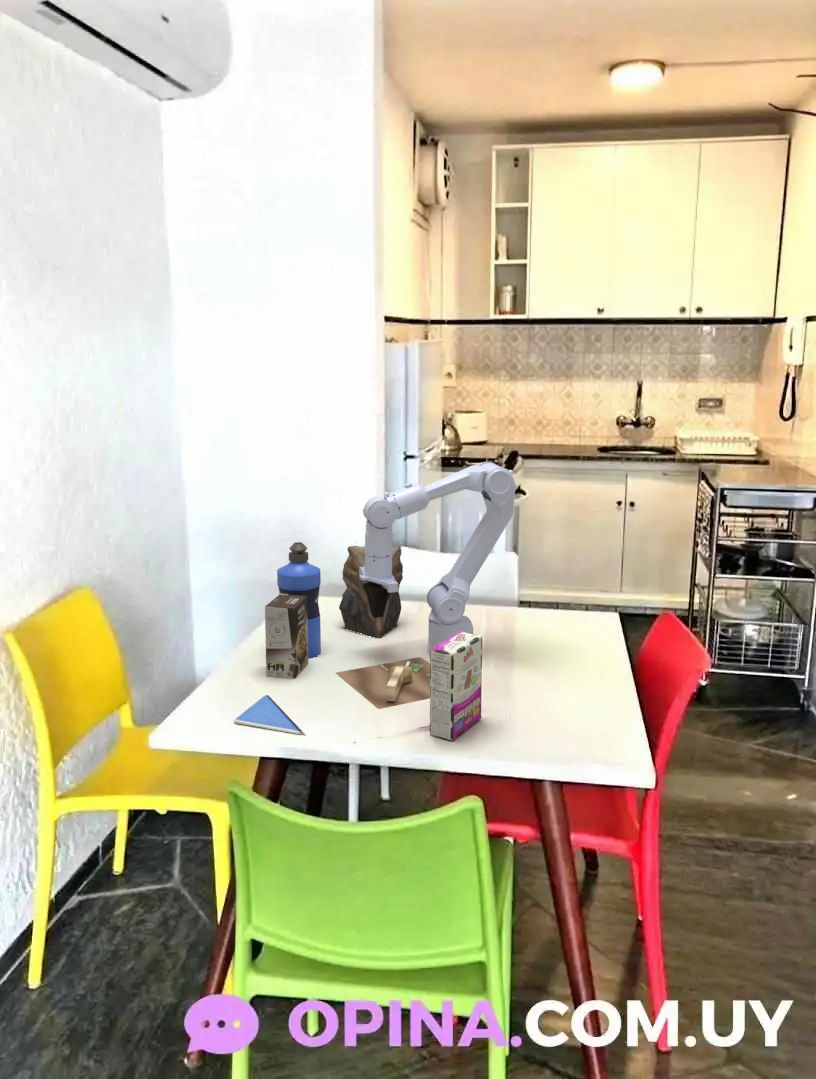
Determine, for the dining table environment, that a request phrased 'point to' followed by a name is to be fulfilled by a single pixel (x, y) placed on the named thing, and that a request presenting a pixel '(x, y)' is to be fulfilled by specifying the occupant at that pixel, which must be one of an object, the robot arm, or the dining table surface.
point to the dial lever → (397, 680)
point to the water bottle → (303, 591)
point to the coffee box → (286, 636)
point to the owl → (357, 602)
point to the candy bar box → (455, 685)
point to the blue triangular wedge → (268, 717)
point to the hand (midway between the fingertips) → (377, 616)
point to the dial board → (377, 677)
